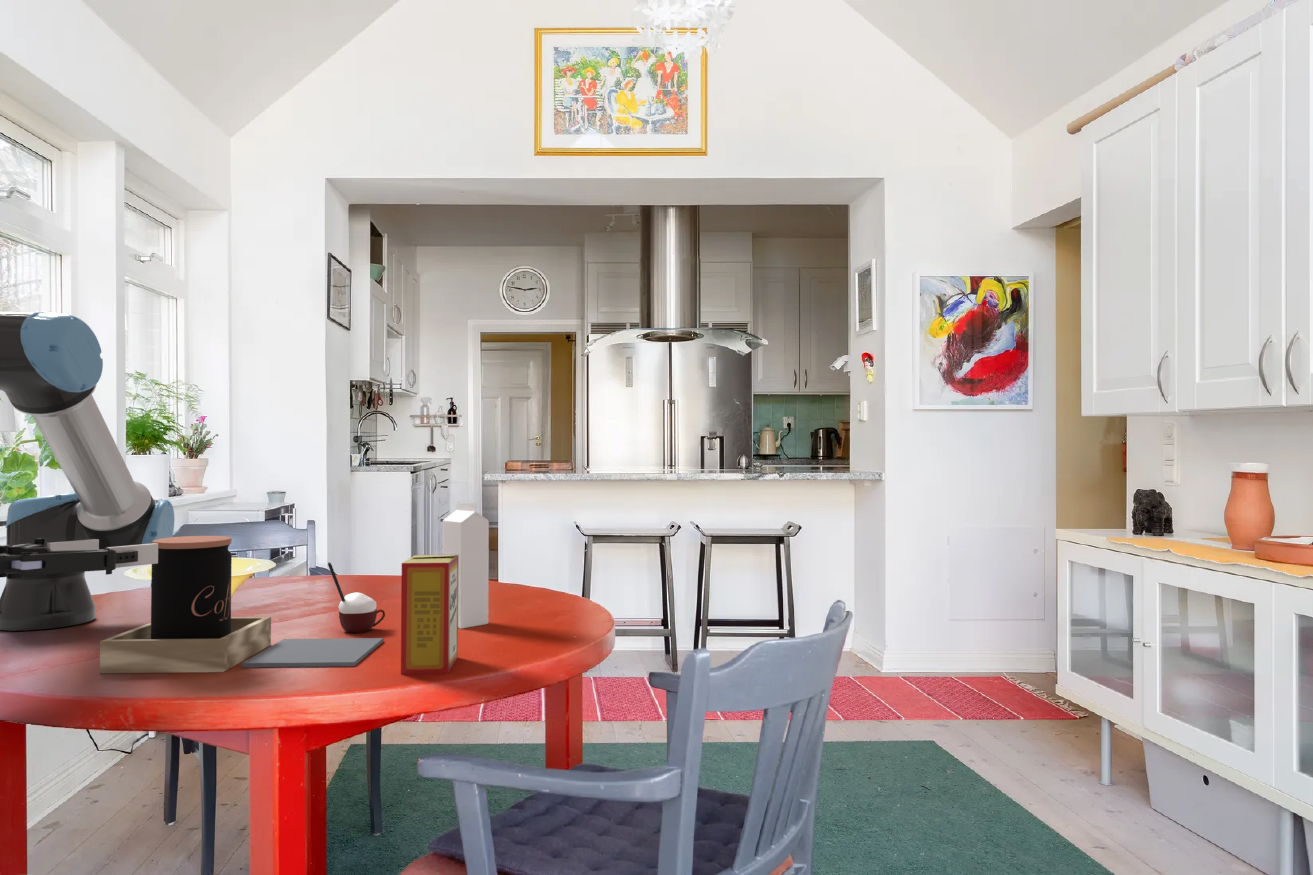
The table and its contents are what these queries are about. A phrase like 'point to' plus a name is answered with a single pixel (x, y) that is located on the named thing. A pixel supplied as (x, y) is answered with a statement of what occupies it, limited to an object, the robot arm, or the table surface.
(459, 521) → the milk
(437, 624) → the baking soda box
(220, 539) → the coffee jar
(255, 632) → the wooden tray
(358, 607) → the cocoa
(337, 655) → the slate mat
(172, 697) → the table surface
